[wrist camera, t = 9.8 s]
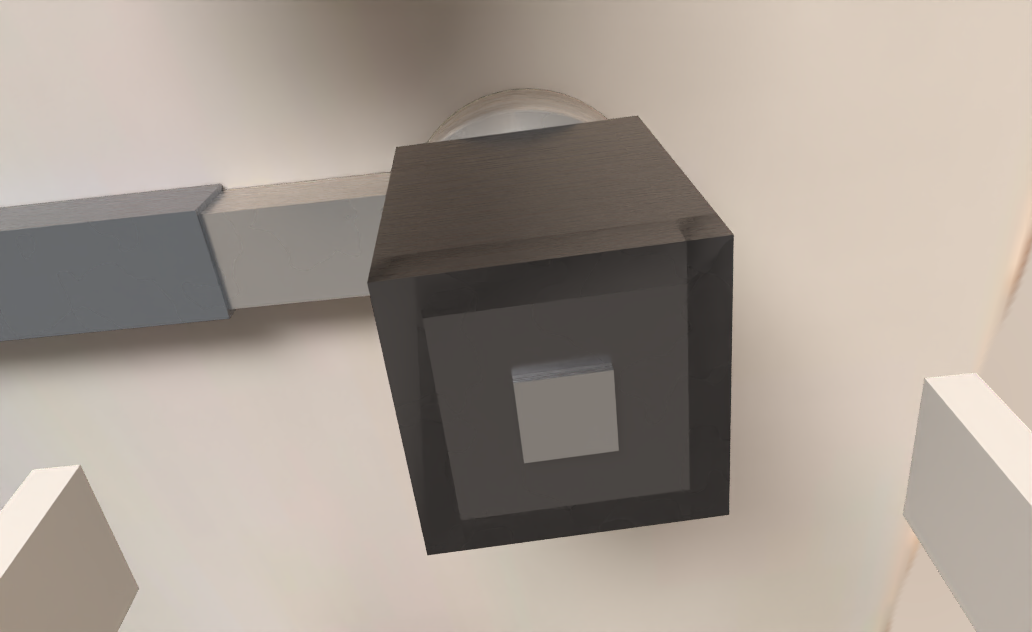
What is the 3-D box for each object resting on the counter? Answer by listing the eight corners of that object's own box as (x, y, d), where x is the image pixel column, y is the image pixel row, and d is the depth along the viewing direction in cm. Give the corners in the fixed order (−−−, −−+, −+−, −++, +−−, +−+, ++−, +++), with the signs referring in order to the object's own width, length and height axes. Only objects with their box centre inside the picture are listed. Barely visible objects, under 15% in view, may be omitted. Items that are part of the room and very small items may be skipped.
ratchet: (-68, 366, 27) (-223, 496, 22) (-174, 167, 24) (-392, 257, 18) (647, 297, 26) (683, 415, 20) (638, 75, 23) (677, 142, 17)
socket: (435, 354, 24) (427, 564, 16) (396, 147, 21) (365, 289, 13) (646, 326, 24) (732, 523, 16) (637, 115, 21) (738, 240, 13)
